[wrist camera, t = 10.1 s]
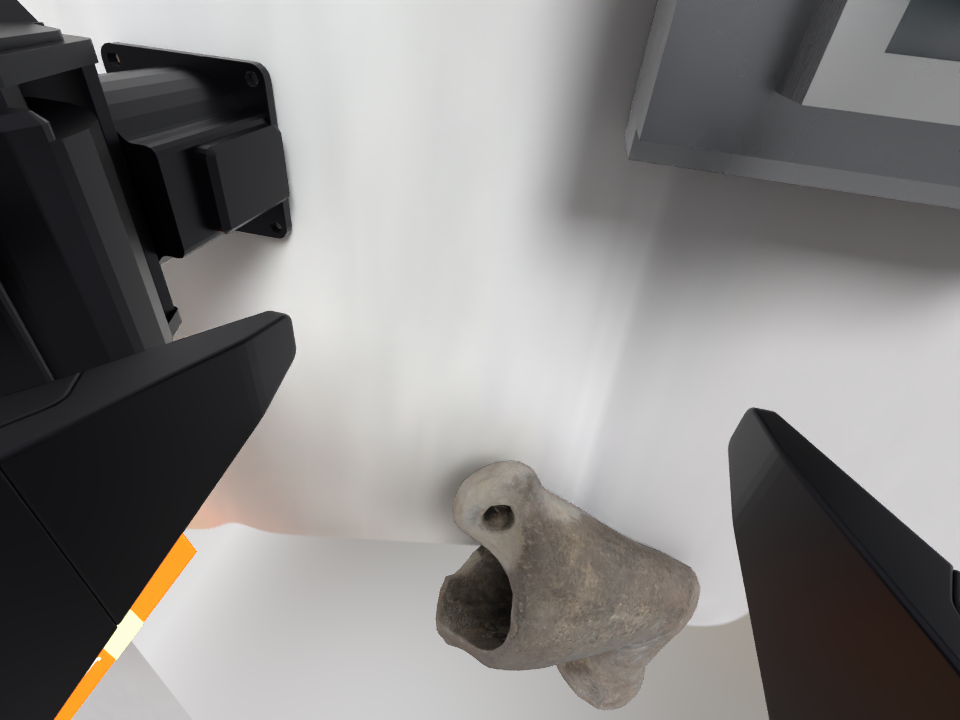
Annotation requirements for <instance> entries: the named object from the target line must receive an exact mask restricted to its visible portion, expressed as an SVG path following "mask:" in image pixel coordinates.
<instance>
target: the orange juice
mask: <svg viewBox="0 0 960 720" xmlns="http://www.w3.org/2000/svg"><path fill="white" fill-rule="evenodd" d="M196 552H197V551H196V550H195V548H194V547H193V546H192V544H191V543H190V542H189V541H188V539H187V538H186V537H185V535H184V534H183V533H182V535H181V536H180V538H179V539H178V541H177V542H176V544H175V545H174V546H173V548H172V549H171V551H170V552H169V554H168V555H167V557H166V558H165V560H164V561H163V562H162V564H161V565H160V567H159V568H158V570H157V571H156V573H155V574H154V575H153V577H152V578H151V580H150V581H149V583H148V584H147V586H146V587H145V588H144V590H143V591H142V593H141V594H140V596H139V597H138V599H137V600H136V601H135V603H134V604H133V606H132V607H131V609H130V610H129V612H128V613H127V615H126V616H125V617H124V619H123V620H122V622H121V623H120V624H119V625H117V627H118V628H117V630H116V631H115V632H114V634H113V635H112V637H111V638H110V640H109V641H108V643H107V644H106V645H105V647H104V648H103V650H102V651H101V653H100V654H99V656H98V657H97V658H96V660H95V661H94V663H93V664H92V666H91V667H90V669H89V670H88V672H87V673H86V674H85V676H84V677H83V679H82V680H81V682H80V683H79V685H78V686H77V687H76V689H75V690H74V692H73V693H72V695H71V696H70V698H69V699H68V700H67V702H66V703H65V705H64V706H63V708H62V709H61V711H60V712H59V713H58V715H57V716H56V718H55V719H54V720H71V719H72V717H73V716H74V715H75V713H76V712H77V711H78V709H79V708H80V707H81V705H82V704H83V703H84V701H85V700H86V699H87V697H88V696H89V695H90V693H91V692H92V691H93V689H94V688H95V687H96V685H97V684H98V683H99V681H100V680H101V679H102V677H103V676H104V675H105V673H106V672H107V671H108V669H109V668H110V667H111V665H112V664H113V663H114V661H115V660H117V659H118V657H119V656H120V655H121V653H122V652H123V651H124V649H125V648H126V647H127V645H128V644H129V643H130V641H131V640H132V639H133V637H134V636H135V635H136V633H137V632H138V631H139V629H140V628H141V627H142V625H143V624H144V621H145V620H146V619H147V617H148V616H149V614H150V613H151V612H152V611H153V609H154V608H155V607H156V605H157V604H158V603H159V601H160V600H161V599H162V597H163V596H164V595H165V593H166V592H167V591H168V589H169V588H170V587H171V585H172V584H173V583H174V581H175V580H176V579H177V577H178V576H179V575H180V573H181V572H182V571H183V569H184V568H185V567H186V565H187V564H188V563H189V561H190V560H191V558H192V557H193V556H194V555H195V553H196Z"/></svg>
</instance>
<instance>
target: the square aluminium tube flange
mask: <svg viewBox="0 0 960 720" xmlns="http://www.w3.org/2000/svg"><path fill="white" fill-rule="evenodd" d="M625 143H626V150H627V156H628V159H629V160H635V161H642V162H649V163H655V164H662V165H669V166H675V167H682V168H689V169H695V170H702V171H709V172H715V173H722V174H729V175H735V176H742V177H749V178H755V179H762V180H769V181H775V182H782V183H789V184H795V185H802V186H809V187H815V188H822V189H829V190H835V191H842V192H849V193H855V194H862V195H869V196H875V197H882V198H889V199H895V200H902V201H909V202H915V203H922V204H929V205H935V206H942V207H949V208H955V209H960V0H658V1H657V5H656V9H655V13H654V17H653V21H652V25H651V29H650V33H649V37H648V41H647V45H646V49H645V53H644V57H643V61H642V65H641V69H640V73H639V77H638V81H637V85H636V89H635V92H634V96H633V100H632V104H631V114H630V117H629V121H628V125H627V129H626V133H625Z"/></svg>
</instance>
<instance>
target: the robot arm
mask: <svg viewBox="0 0 960 720" xmlns="http://www.w3.org/2000/svg"><path fill="white" fill-rule="evenodd" d="M116 54H117V55H118V57H119V59H120V63H121V64H120V63H119V62H118V60H117V58H116ZM101 56H102V60H103V63H104V66H105V69H106V72H107V73H104V74H98V73H97V70H96V67H95V63H98V59H97V56H96V53H95V50H94V47H93V43H92V40H91V38H86V37H79V36H72V35H65V34H62V33H61V31H60V29H57V28H52V27H47V26H44V24H43V22H38V21H37V20H36V19H35V18H34V17H33V16H32V15H31V14H30V13H29V12H28V11H27V10H26V9H25V8H24V7H23V6H22V5H21V4H20V3H19V2H18V1H17V0H0V720H54V719H55V718H56V716H57V715H58V713H59V712H60V711H61V709H62V708H63V706H64V705H65V703H66V702H67V700H68V699H69V698H70V696H71V695H72V693H73V692H74V690H75V689H76V687H77V686H78V685H79V683H80V682H81V680H82V679H83V677H84V676H85V674H86V673H87V672H88V670H89V669H90V667H91V666H92V664H93V663H94V661H95V660H96V658H97V657H98V656H99V654H100V653H101V651H102V650H103V648H104V647H105V645H106V644H107V643H108V641H109V640H110V638H111V637H112V635H113V634H114V632H115V631H116V630H117V628H118V627H117V625H119V624H120V623H121V622H122V620H123V619H124V617H125V616H126V615H127V613H128V612H129V610H130V609H131V607H132V606H133V604H134V603H135V601H136V600H137V599H138V597H139V596H140V594H141V593H142V591H143V590H144V588H145V587H146V586H147V584H148V583H149V581H150V580H151V578H152V577H153V575H154V574H155V573H156V571H157V570H158V568H159V567H160V565H161V564H162V562H163V561H164V560H165V558H166V557H167V555H168V554H169V552H170V551H171V549H172V548H173V546H174V545H175V544H176V542H177V541H178V539H179V538H180V536H181V535H182V533H183V532H184V531H185V529H186V528H187V526H188V525H189V523H190V522H191V520H192V519H193V518H194V516H195V515H196V513H197V512H198V510H199V509H200V507H201V506H202V504H203V503H204V502H205V500H206V499H207V497H208V496H209V494H210V493H211V491H212V490H213V489H214V487H215V486H216V484H217V483H218V481H219V480H220V478H221V477H222V476H223V474H224V473H225V471H226V470H227V468H228V467H229V465H230V464H231V463H232V461H233V460H234V458H235V457H236V455H237V454H238V452H239V451H240V449H241V448H242V447H243V445H244V444H245V442H246V441H247V439H248V438H249V436H250V435H251V434H252V432H253V431H254V429H255V428H256V426H257V425H258V423H259V422H260V420H261V419H262V417H263V415H264V414H265V412H266V410H267V409H268V407H269V405H270V403H271V401H272V399H273V397H274V395H275V394H276V392H277V390H278V388H279V386H280V384H281V382H282V380H283V379H284V377H285V375H286V373H287V371H288V369H289V367H290V365H291V364H292V362H293V360H294V357H295V354H296V344H295V338H294V332H293V326H292V321H291V318H290V317H289V316H288V315H287V314H284V313H279V312H274V311H266V312H263V313H260V314H257V315H254V316H251V317H248V318H245V319H241V320H238V321H235V322H232V323H229V324H226V325H223V326H220V327H217V328H214V329H211V330H208V331H205V332H201V333H198V334H195V335H192V336H189V337H186V338H183V339H180V340H177V341H174V342H172V340H173V335H174V334H175V332H176V331H177V329H178V327H179V326H180V324H181V322H182V320H181V317H180V314H179V311H178V308H177V307H175V306H173V303H172V300H171V297H170V294H169V291H168V288H167V285H166V281H165V278H164V275H163V272H162V269H161V266H160V264H162V263H164V262H166V261H167V260H169V259H171V258H173V257H174V258H183V257H185V256H187V255H188V254H190V253H192V252H193V251H195V250H197V249H198V248H200V247H202V246H204V245H205V244H207V243H209V242H210V241H212V240H214V239H215V238H217V237H219V236H221V235H222V234H229V233H231V232H233V231H234V230H235V231H241V232H246V233H252V234H257V235H263V236H269V237H274V238H283V237H284V236H286V235H287V234H289V233H290V231H291V229H292V225H291V218H290V210H289V203H288V196H289V187H288V180H287V173H286V165H285V158H284V151H283V144H282V137H281V132H280V131H279V129H278V126H277V119H276V112H275V105H274V98H273V91H272V84H271V78H270V75H269V73H268V71H267V69H266V68H265V67H264V66H263V65H262V64H260V63H258V62H254V61H247V60H240V59H232V58H225V57H218V56H211V55H204V54H197V53H190V52H182V51H175V50H168V49H161V48H154V47H147V46H140V45H133V44H125V43H118V42H117V43H105V44H104V45H103V46H102V48H101ZM252 72H254V73H255V74H256V75H257V77H258V85H256V84H255V83H254V82H253V80H252V77H251V76H252ZM275 221H276V222H278V223H279V224H280V225H281V228H282V229H279V228H278V227H277V226H276V223H275ZM728 456H729V473H730V490H731V507H732V519H733V527H734V533H735V539H736V544H737V550H738V555H739V560H740V566H741V571H742V576H743V582H744V587H745V592H746V598H747V603H748V608H749V613H750V619H751V624H752V629H753V635H754V640H755V646H756V651H757V656H758V662H759V667H760V672H761V678H762V683H763V688H764V693H765V698H766V704H767V710H768V715H769V720H960V571H958V570H953V566H952V565H951V564H950V563H949V562H948V561H947V560H945V559H944V558H943V557H942V556H941V555H940V554H939V553H937V552H936V551H935V550H934V549H933V548H932V547H930V546H929V545H928V544H927V543H926V542H925V541H924V540H922V539H921V538H920V537H919V536H918V535H917V534H915V533H914V532H913V531H912V530H911V529H910V528H909V527H907V526H906V525H905V524H904V523H903V522H902V521H900V520H899V519H898V518H897V517H896V516H895V515H894V514H892V513H891V512H890V511H889V510H888V509H887V508H885V507H884V506H883V505H882V504H881V503H880V502H879V501H877V500H876V499H875V498H874V497H873V496H872V495H870V494H869V493H868V492H867V491H866V490H865V489H864V488H862V487H861V486H860V485H859V484H858V483H857V482H855V481H854V480H853V479H852V478H851V477H850V476H849V475H847V474H846V473H845V472H844V471H843V470H842V469H840V468H839V467H838V466H837V465H836V464H835V463H833V462H832V461H831V460H830V459H829V458H828V457H827V456H825V455H824V454H823V453H822V452H821V451H820V450H818V449H817V448H816V447H815V446H814V445H813V444H812V443H810V442H809V441H808V440H807V439H806V438H805V437H803V436H802V435H801V434H800V433H799V432H798V431H797V430H795V429H794V428H793V427H792V426H791V425H790V424H788V423H787V422H786V421H785V420H784V419H783V418H782V417H780V416H779V415H778V414H777V413H776V412H773V411H769V410H764V409H759V408H750V409H748V410H747V411H746V413H745V414H744V416H743V418H742V419H741V421H740V423H739V425H738V426H737V428H736V430H735V431H734V433H733V435H732V437H731V439H730V442H729V446H728Z"/></svg>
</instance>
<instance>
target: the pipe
mask: <svg viewBox="0 0 960 720" xmlns="http://www.w3.org/2000/svg"><path fill="white" fill-rule="evenodd" d="M453 513H454V522H455V523H456V524H457V525H458V526H459V528H460V529H461V530H462V531H464V532H465V533H467V534H468V535H469V536H470V537H472V538H473V539H474V540H476V541H477V542H479V543H480V544H481V546H480V547H479V548H478V549H477V550H476V551H475V552H474V553H473V554H472V555H471V556H470V558H469V559H468V560H467V561H466V562H465V563H464V565H463V566H462V567H461V568H460V569H459V570H458V571H457V572H456V573H455V574H453V575H450V576H446V577H445V580H444V583H443V585H442V587H441V589H440V594H439V599H438V604H437V612H436V626H437V631H438V633H439V635H440V636H441V637H442V638H443V639H444V640H445V642H446V643H447V644H448V645H451V646H455V647H458V648H460V649H463V650H465V651H466V652H467V653H469V654H470V655H472V656H473V657H475V658H476V659H477V660H478V661H480V662H481V663H482V664H484V665H485V666H487V667H489V668H494V669H502V670H530V669H540V668H545V667H550V666H553V665H557V668H558V670H559V672H560V673H561V675H562V677H563V678H564V680H565V681H566V682H567V683H568V685H569V686H570V687H571V688H572V690H573V691H574V692H575V693H576V694H577V696H578V697H580V698H582V699H583V700H585V701H586V702H588V703H589V704H591V705H592V706H594V707H595V708H597V709H601V710H613V709H618V708H621V707H623V706H625V705H626V704H627V703H628V702H630V701H631V700H632V699H633V698H634V697H635V696H636V694H637V693H638V691H639V690H640V688H641V685H642V682H643V679H644V672H645V666H646V665H647V664H648V663H649V662H650V661H651V660H652V659H653V657H654V656H655V655H656V654H657V653H658V652H659V651H660V650H661V649H662V648H663V647H664V646H665V645H666V644H667V643H668V642H669V641H670V640H671V639H672V638H673V637H674V636H676V635H677V634H678V633H679V632H680V631H681V630H682V629H683V628H684V627H685V625H686V624H687V623H688V621H689V620H690V618H691V617H692V615H693V613H694V611H695V609H696V607H697V603H698V599H699V594H700V585H699V582H698V579H697V576H696V574H695V572H694V571H693V570H692V569H691V567H689V566H687V565H685V564H683V563H681V562H679V561H677V560H676V559H674V558H672V557H670V556H668V555H666V554H664V553H662V552H660V551H657V550H655V549H652V548H649V547H646V546H644V545H641V544H639V543H636V542H635V541H633V540H631V539H629V538H627V537H625V536H623V535H622V534H620V533H618V532H616V531H615V530H613V529H611V528H610V527H608V526H606V525H605V524H603V523H601V522H600V521H598V520H597V519H595V518H593V517H592V516H591V515H589V514H588V513H586V512H585V511H583V510H582V509H580V508H578V507H576V506H575V505H573V504H571V503H569V502H567V501H565V500H563V499H562V498H560V497H558V496H556V495H554V494H552V493H550V492H548V491H547V490H545V489H544V488H543V487H542V485H541V483H540V481H539V479H538V477H537V475H536V474H535V472H534V471H533V470H532V469H531V468H530V467H529V466H527V465H525V464H523V463H521V462H518V461H503V462H495V463H493V464H490V465H487V466H485V467H483V468H481V469H479V470H477V471H475V472H474V473H473V474H472V475H470V476H469V477H468V478H467V479H465V480H464V481H463V482H462V484H461V486H460V488H459V489H458V491H457V494H456V496H455V498H454V504H453Z"/></svg>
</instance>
